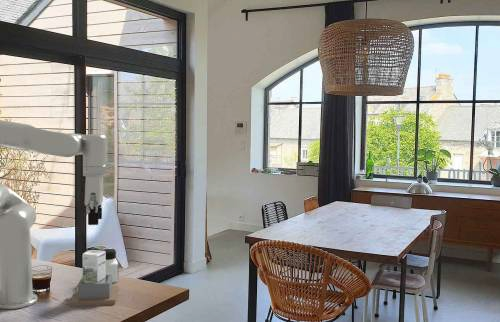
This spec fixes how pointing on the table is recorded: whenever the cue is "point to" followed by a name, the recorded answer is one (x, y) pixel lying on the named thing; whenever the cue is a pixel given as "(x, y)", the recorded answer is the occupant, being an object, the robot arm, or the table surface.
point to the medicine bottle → (111, 263)
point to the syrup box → (94, 266)
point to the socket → (95, 293)
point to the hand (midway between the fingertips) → (95, 221)
